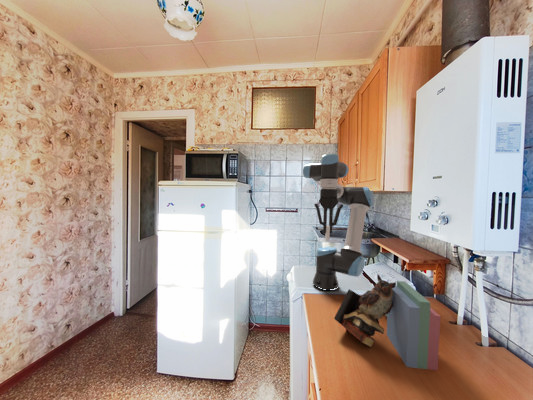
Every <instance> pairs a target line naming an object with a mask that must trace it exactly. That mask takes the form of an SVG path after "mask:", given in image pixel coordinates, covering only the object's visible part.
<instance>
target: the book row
mask: <svg viewBox="0 0 533 400" xmlns="http://www.w3.org/2000/svg"><path fill="white" fill-rule="evenodd" d="M392 290H393V295H392V296H393V297H392V301H393V307H392V309H391V310H390V312H389V313H388V314H387V317H386V336H387V337H388V339H389V340H390V341H389V342H390V343H391V344H392V346H393V348H394V349H395V350H396V352H397V354H398V355H399V357H400V359H401V360H402V362H403V363H404V366H405V367H406V368H412V369H413V368H414V369H423V370H429V371H430V370H432V371H438V370H439V353H440V352H439V350H440V335H441V333H440V331H441V315H440V314H438V312H436V311H435V310H434V309H433V308H432V307H431V301H429V300H428V299H427V298H426V297H425V296H424V295H422V294H421V293H419V292H418V291H417V290H416V289H415V288H413V287H412V286H411V285H410V284H409V283H407V282H406V281H402V280H397V281H396V286H395V287H394V288H392Z"/></svg>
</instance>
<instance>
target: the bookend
mask: <svg viewBox="0 0 533 400" xmlns="http://www.w3.org/2000/svg"><path fill="white" fill-rule="evenodd" d="M377 281H378V282H377V283H375V285H374V287H373V288H372V289H371V290H367V291H366V292H364V293H363V294H362V295H360V294H358V293H356V292H355V291H353V290H352V289H350V288H349V289H347V292H346V293H345V295H344V298H343V300H342V302H341V305H340V306H339V308H338V310H337V312H335V313H336V314H335V315H334V318H333V319H334V320H335V321H336V322H337V323H338V324H340V325H341V326H342V327H343V328H344V329H345V330H347V331H348V332H349V333H350V334H352V335H353V336H354V337H355V338H356V339H357V340H359V341H360V342H361V344H364V345H366V346H368V347H369V348H372V347H373V344H374V342H376V340H375V338H373V336H374V335H375V334H376V332H378V333H380V334H382V335H384V333H385V329H384V327H383V326H382V325H380V320H381V319H382V317H383V316H386V314H388V313H389V312H390V310H391V309H392V307H393V301H392V297H393V296H392V295H393V290H392V288H394V287H395V286H397V281H396V282H389V281H386V280H383V279H382V278H381V275H380V274H379V273H377Z"/></svg>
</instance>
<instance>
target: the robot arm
mask: <svg viewBox="0 0 533 400" xmlns="http://www.w3.org/2000/svg"><path fill="white" fill-rule="evenodd" d="M339 158H340V157H339V154H336V153H326V154H323V155H322V156H321V160H320V163H319V162H318V163H308V164H305V165H304V166H303V168H302V175H303V177H304V178H305V179H312V180H313V181H314V182H315V183H317V184H318V185H319V186H320V188H321V189H320V190H319V191H320V193H319V200H318V201H317V202H316V203H314V204H313V205H314V207H315V209H316V213H317V218H318V222H319V224H320V225H322V226H323V228H322V232H323V234H325V235H324V236H325V237H324V239H325V241H327V242H328V241H329V242H330V236H331V235H330V234H332V233H333V226H337V224H338V221H339V217H340V213H341V210H342V208H343V207H344V205H345V206H346V205H347V206H348V207H349V208H350V214H349V219H348V224H347V225H348V226H347V230H346V236H345V240H344V246H343V247H341V248H340V251H338V249H337V248H336V247H333V246H325V247H324V246H323V247H319V248H318V249H317V250H316V257H315V259H316V264H315V265H316V266H315V274H314V277H313V279H312V285H313V284H314V285H315V286H317V287H320V288H322V289H326V290H330V289H334V288H337V287H338V288H339V281H338V276H337V273H339V274H343V275H346V276H350V277H355V278H357V277H360V275H362V273H363V272H364V271H363V270H364V268H365V263H366V260H365V257H364V256H363V252H362V251H361V245H362V241H363V239H362V238H363V233H364V227H365V220H366V215H367V212H368V211H369V210H370V208H371V207H374V204H375V195H374V191H373V190H372V191H370V190H369V188H368V186H342V185H341V184H338V183H339V178H340V179H342V178H345V177H346V176H348V174H349V171H350V170H349V166H348V165H347V164H346V163H344V162H342V161H340V159H339ZM320 206H321V207H322V208H323V216H322V214H321V210H320ZM335 207H337V208H336V212H335V215H334V209H335ZM328 211H329V213H328ZM328 214H329V216H328ZM333 217H334V219H333ZM322 218H323V219H322ZM327 219H328V223H327ZM327 224H328V225H327ZM314 285H313V286H314ZM315 286H314V287H315Z"/></svg>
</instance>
